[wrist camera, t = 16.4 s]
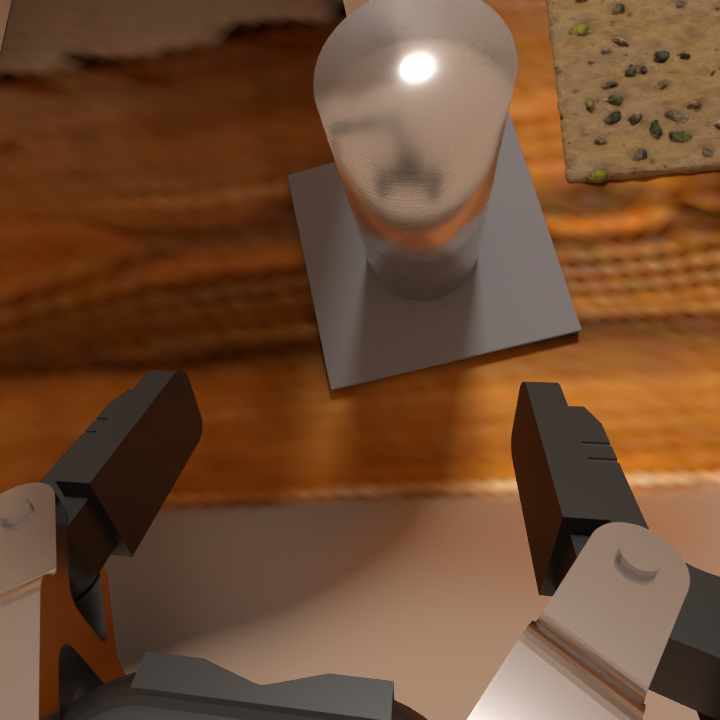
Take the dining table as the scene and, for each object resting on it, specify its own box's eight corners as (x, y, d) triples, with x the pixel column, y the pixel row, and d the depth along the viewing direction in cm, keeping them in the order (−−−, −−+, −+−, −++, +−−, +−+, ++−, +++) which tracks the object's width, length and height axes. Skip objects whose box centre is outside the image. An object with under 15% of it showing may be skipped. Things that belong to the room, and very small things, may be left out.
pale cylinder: (382, 312, 21) (335, 186, 11) (357, 216, 22) (296, 24, 12) (492, 282, 20) (545, 122, 10) (461, 185, 21) (483, -40, 12)
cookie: (536, -20, 24) (541, -39, 23) (798, -60, 22) (814, -82, 21) (560, 190, 21) (566, 179, 21) (854, 164, 20) (875, 150, 19)
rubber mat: (332, 390, 21) (331, 389, 20) (289, 179, 23) (287, 175, 23) (578, 332, 20) (581, 329, 19) (507, 117, 22) (508, 111, 22)
